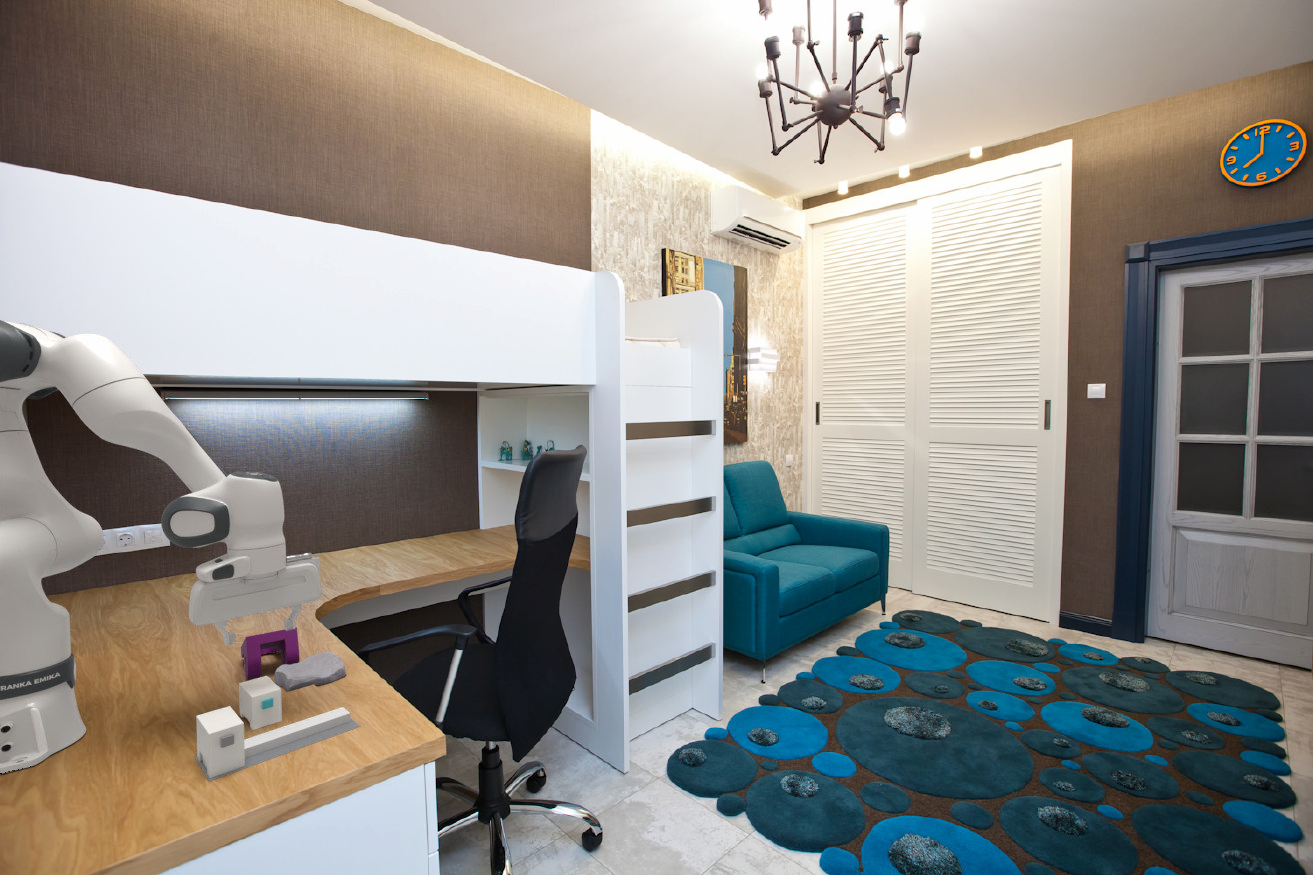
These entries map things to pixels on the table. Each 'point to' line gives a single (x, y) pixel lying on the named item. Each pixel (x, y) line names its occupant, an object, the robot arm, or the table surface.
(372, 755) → the table surface
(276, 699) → the block
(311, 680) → the stone block
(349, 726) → the rail plate
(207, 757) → the white grey-marked block
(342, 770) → the table surface
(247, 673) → the mounting bracket
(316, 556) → the robot arm
